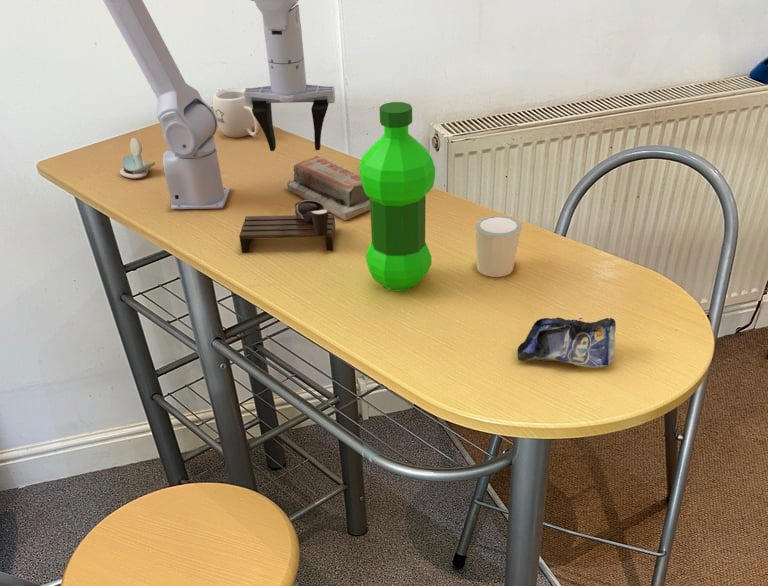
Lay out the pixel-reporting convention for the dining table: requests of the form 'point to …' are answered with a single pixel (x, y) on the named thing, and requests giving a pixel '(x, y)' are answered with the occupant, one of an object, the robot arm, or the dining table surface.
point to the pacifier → (139, 165)
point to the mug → (234, 113)
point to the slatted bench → (282, 229)
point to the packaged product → (330, 187)
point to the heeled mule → (313, 215)
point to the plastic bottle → (397, 201)
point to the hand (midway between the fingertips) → (295, 148)
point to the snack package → (570, 342)
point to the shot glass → (497, 245)
